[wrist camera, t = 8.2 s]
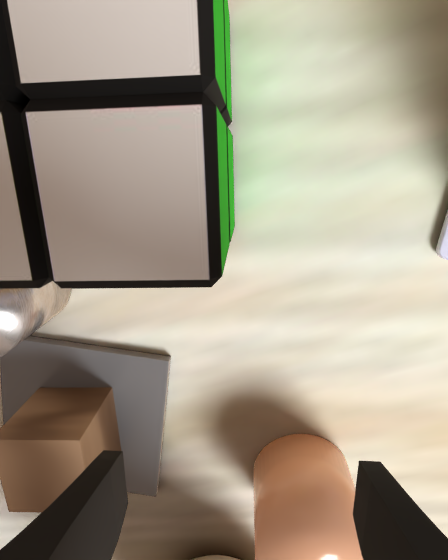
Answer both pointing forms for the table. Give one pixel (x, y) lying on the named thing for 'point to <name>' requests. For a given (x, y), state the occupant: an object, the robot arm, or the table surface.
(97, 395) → the walnut block
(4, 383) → the slate coaster
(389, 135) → the table surface
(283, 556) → the tan rounded cylinder
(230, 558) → the beige bottle
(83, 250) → the puzzle cube
